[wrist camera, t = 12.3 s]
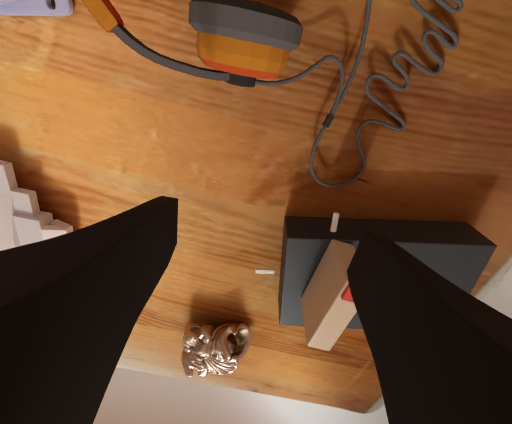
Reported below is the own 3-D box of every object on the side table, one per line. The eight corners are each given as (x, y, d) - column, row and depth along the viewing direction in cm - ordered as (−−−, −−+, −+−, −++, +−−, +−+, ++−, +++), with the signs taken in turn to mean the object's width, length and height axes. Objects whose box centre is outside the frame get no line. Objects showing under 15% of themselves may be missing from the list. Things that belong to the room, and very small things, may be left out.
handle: (319, 303, 20) (330, 355, 17) (300, 298, 20) (307, 350, 17) (353, 244, 18) (375, 290, 14) (331, 238, 17) (348, 284, 14)
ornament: (219, 297, 25) (212, 331, 22) (263, 335, 27) (262, 370, 24) (165, 329, 28) (151, 363, 24) (209, 361, 30) (202, 395, 27)
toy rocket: (-68, 140, 18) (-110, 149, 16) (71, 169, 19) (47, 181, 17) (-6, 296, 26) (-29, 315, 24) (92, 314, 27) (78, 334, 25)
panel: (256, 297, 25) (254, 325, 22) (258, 190, 19) (256, 210, 17) (428, 305, 24) (448, 335, 21) (479, 197, 19) (516, 219, 16)
